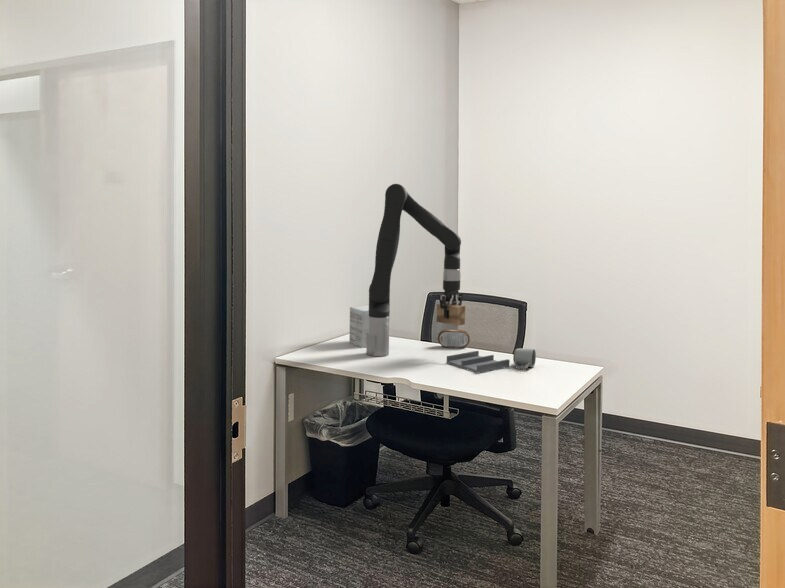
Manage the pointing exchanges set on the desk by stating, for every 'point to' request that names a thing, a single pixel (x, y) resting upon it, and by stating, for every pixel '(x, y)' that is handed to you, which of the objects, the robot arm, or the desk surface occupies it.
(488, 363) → the rack
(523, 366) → the ceramic mug
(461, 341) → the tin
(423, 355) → the desk surface
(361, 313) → the supplement box
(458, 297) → the robot arm
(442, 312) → the wooden toy brick
